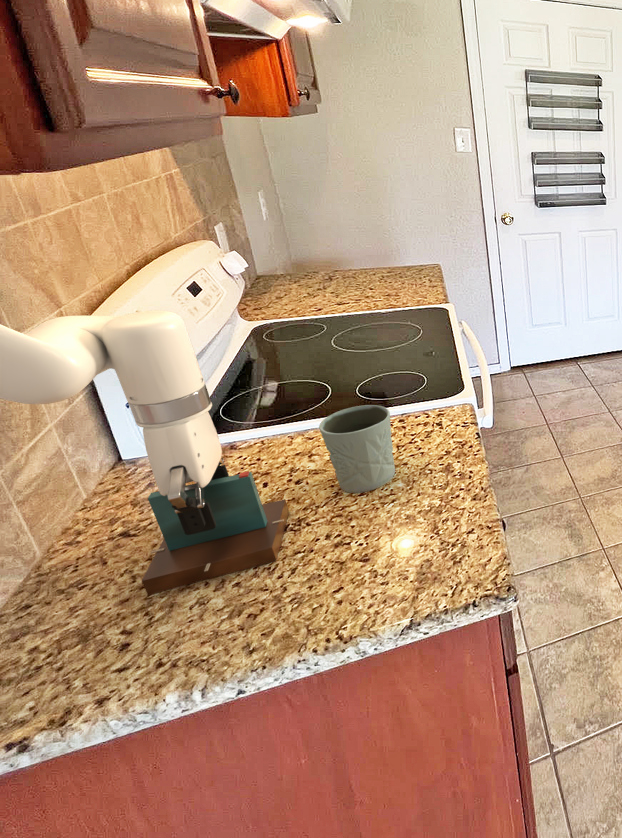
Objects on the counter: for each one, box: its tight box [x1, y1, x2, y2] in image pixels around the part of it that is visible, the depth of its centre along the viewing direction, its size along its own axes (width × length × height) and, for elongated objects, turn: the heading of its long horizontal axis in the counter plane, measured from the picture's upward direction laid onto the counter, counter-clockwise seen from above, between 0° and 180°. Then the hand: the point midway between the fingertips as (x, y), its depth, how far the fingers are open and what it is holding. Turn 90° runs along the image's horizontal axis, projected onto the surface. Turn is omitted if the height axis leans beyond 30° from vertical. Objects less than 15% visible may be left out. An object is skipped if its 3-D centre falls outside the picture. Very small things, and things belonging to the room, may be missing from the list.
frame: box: [147, 470, 267, 551], centre depth 81 cm, size 11×1×9 cm, turn 119°
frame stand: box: [141, 499, 290, 596], centre depth 83 cm, size 15×15×3 cm
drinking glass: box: [318, 404, 396, 494], centre depth 99 cm, size 10×10×12 cm
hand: (210, 509), depth 81 cm, fingers open, 9 cm apart
